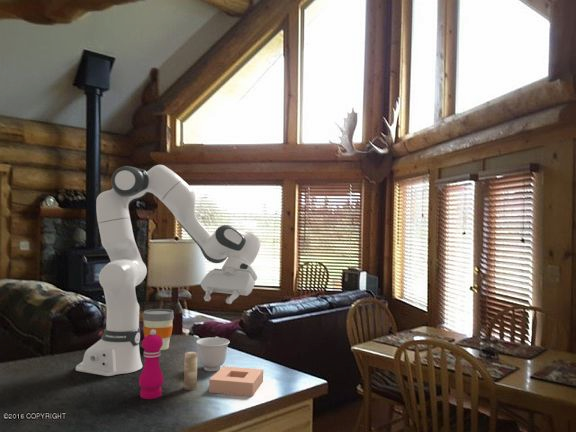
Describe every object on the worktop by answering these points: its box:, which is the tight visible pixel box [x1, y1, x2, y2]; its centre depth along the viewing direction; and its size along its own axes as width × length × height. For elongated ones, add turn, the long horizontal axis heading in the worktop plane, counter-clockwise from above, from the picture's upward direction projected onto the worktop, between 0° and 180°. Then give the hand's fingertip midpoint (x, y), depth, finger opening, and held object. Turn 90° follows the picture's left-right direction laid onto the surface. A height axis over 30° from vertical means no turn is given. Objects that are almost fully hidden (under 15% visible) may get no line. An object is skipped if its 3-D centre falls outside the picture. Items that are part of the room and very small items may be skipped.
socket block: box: [208, 365, 264, 397], centre depth 156 cm, size 14×14×4 cm
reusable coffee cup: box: [142, 308, 175, 351], centre depth 200 cm, size 13×13×15 cm
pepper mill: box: [138, 329, 164, 400], centre depth 146 cm, size 7×7×20 cm
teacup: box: [195, 336, 230, 372], centre depth 175 cm, size 12×15×10 cm
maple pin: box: [183, 351, 199, 391], centre depth 153 cm, size 4×4×11 cm
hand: (217, 301), depth 164 cm, fingers open, 8 cm apart
